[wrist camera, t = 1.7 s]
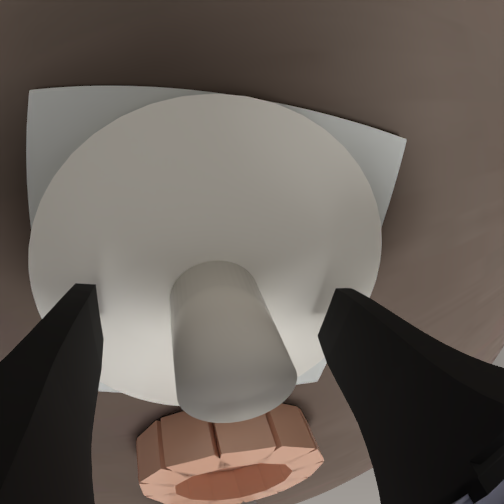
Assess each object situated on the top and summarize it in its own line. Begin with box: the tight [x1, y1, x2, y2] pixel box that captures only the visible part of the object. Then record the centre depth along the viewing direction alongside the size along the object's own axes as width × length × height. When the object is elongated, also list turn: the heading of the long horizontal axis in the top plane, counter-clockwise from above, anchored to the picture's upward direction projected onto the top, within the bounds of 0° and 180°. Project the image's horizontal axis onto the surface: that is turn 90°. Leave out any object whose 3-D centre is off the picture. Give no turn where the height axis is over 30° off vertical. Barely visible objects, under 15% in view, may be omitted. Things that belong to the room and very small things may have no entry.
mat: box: [26, 86, 407, 393], centre depth 10 cm, size 12×12×1 cm
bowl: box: [136, 403, 324, 504], centre depth 16 cm, size 11×11×3 cm
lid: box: [28, 94, 382, 423], centre depth 8 cm, size 12×12×4 cm
